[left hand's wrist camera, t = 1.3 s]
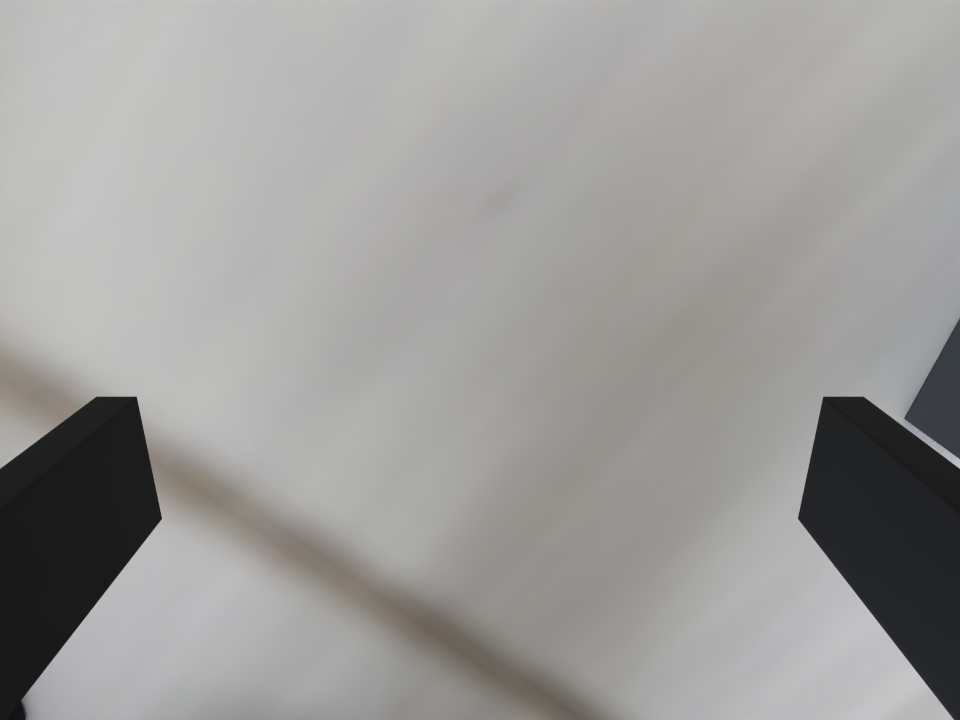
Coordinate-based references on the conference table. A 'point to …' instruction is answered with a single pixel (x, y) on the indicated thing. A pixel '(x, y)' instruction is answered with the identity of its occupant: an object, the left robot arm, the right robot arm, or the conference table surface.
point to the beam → (941, 399)
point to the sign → (17, 714)
